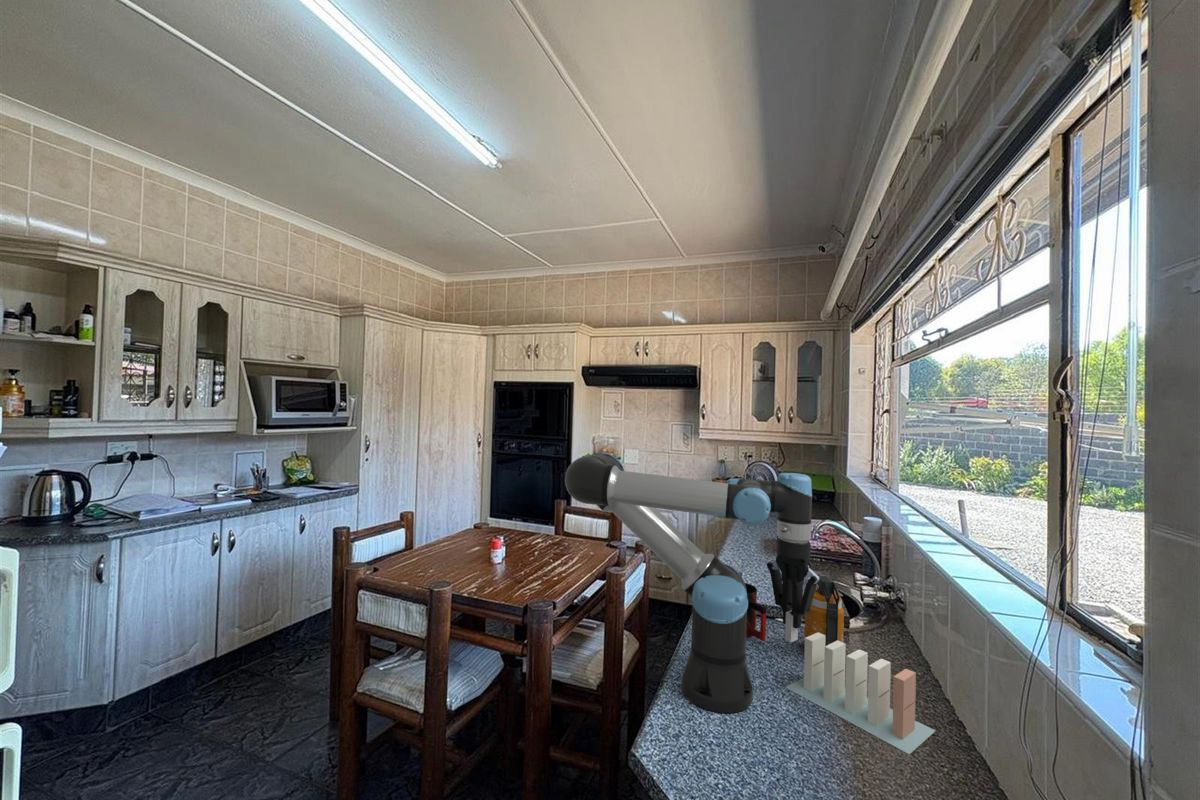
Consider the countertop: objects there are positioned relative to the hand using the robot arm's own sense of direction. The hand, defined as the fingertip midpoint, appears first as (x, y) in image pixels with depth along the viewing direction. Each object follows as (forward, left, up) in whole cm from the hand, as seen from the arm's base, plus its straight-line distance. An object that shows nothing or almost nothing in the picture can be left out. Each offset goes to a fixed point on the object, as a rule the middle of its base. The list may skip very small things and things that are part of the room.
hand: (791, 639), depth 113 cm
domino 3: (+7, -13, -8) cm, 17 cm away
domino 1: (+3, -5, -8) cm, 10 cm away
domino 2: (+5, -9, -8) cm, 13 cm away
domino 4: (+10, -17, -8) cm, 21 cm away
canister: (+13, +7, -9) cm, 17 cm away
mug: (-2, +22, -9) cm, 24 cm away
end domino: (+12, -21, -8) cm, 26 cm away
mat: (+7, -13, -8) cm, 17 cm away
